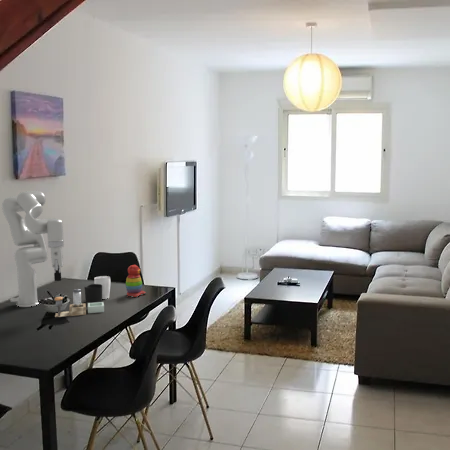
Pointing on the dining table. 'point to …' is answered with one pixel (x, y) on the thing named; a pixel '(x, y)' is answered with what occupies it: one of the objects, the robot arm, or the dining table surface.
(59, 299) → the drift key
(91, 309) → the mint green square tray
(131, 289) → the stacking bear
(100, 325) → the dining table surface
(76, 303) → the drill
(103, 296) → the cup
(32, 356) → the dining table surface
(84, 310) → the socket block
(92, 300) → the pen holder
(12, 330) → the dining table surface
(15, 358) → the dining table surface
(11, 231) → the robot arm
